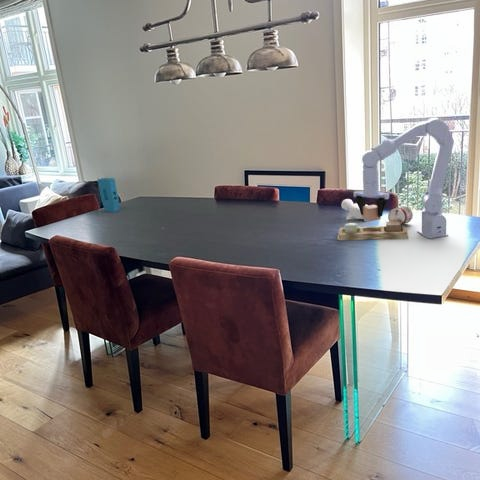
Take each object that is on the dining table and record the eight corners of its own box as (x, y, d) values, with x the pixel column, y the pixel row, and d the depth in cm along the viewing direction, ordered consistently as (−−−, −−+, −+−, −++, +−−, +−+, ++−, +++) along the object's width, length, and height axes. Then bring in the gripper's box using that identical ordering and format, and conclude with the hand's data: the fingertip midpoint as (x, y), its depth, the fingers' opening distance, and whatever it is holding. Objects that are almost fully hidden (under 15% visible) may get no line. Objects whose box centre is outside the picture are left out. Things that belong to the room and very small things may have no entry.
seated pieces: (399, 230, 189) (399, 221, 188) (400, 234, 185) (400, 224, 183) (345, 232, 195) (344, 223, 194) (344, 236, 190) (344, 226, 189)
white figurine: (371, 223, 216) (345, 209, 225) (377, 207, 212) (350, 193, 220) (361, 228, 211) (334, 213, 219) (366, 212, 206) (339, 197, 215)
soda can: (398, 225, 202) (390, 227, 192) (393, 209, 202) (385, 210, 193) (415, 220, 198) (408, 223, 188) (410, 204, 198) (403, 205, 188)
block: (103, 211, 294) (96, 179, 289) (109, 209, 298) (103, 178, 292) (114, 212, 287) (108, 180, 281) (121, 210, 291) (115, 178, 285)
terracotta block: (374, 216, 191) (374, 204, 189) (380, 219, 186) (380, 207, 185) (363, 218, 190) (362, 206, 188) (368, 221, 185) (368, 209, 184)
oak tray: (406, 230, 191) (406, 225, 190) (408, 238, 182) (408, 232, 181) (338, 232, 198) (338, 227, 197) (337, 240, 189) (337, 234, 188)
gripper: (392, 180, 181) (393, 214, 185) (359, 179, 191) (360, 211, 195) (383, 184, 177) (384, 219, 181) (350, 182, 187) (351, 215, 191)
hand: (371, 215), depth 188 cm, fingers closed on terracotta block, 7 cm apart
